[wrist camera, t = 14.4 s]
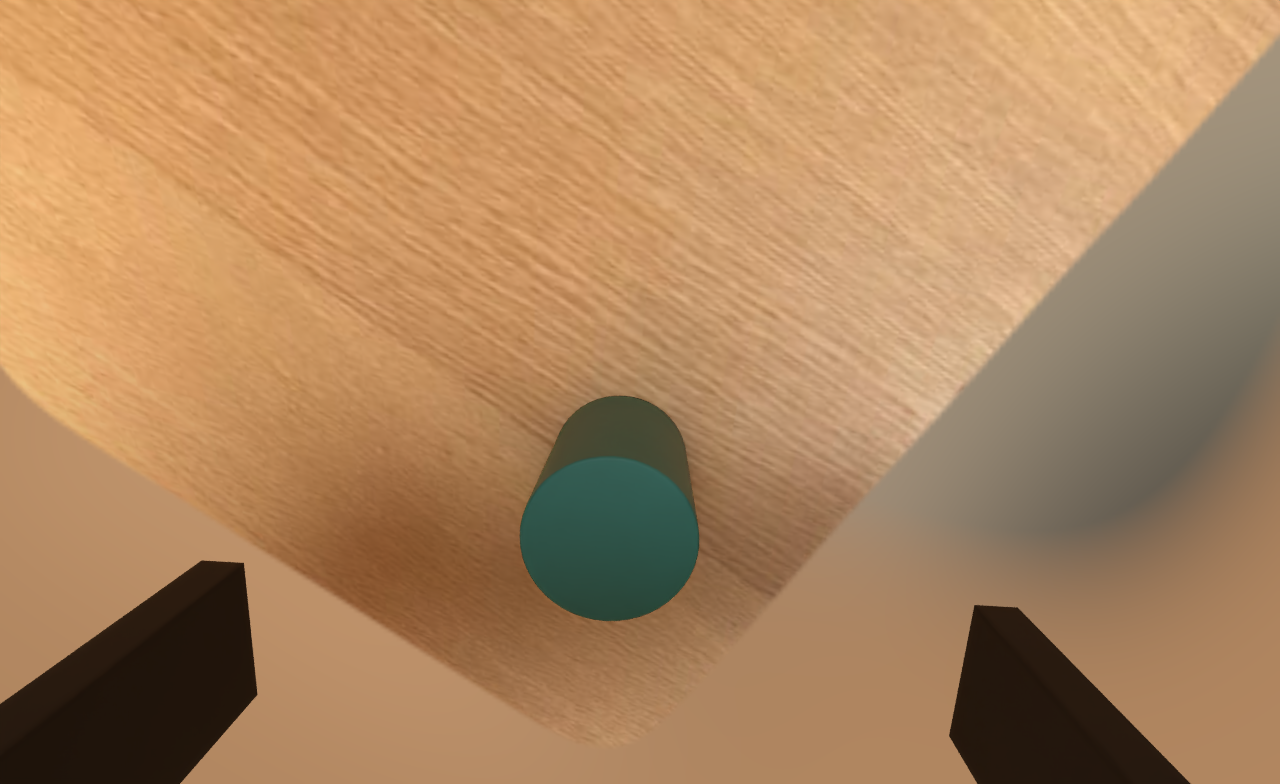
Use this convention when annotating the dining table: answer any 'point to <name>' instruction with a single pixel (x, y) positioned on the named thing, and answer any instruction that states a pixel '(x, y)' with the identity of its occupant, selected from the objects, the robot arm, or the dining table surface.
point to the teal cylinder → (612, 513)
